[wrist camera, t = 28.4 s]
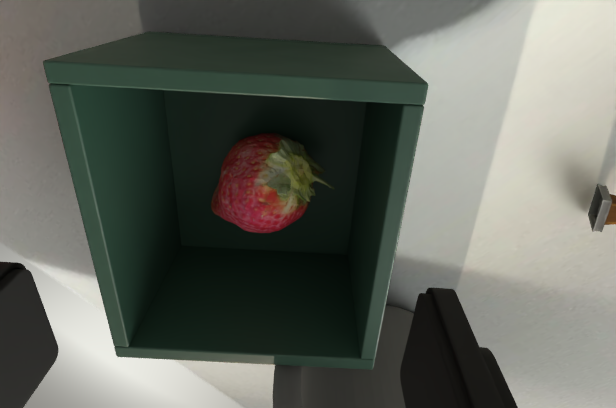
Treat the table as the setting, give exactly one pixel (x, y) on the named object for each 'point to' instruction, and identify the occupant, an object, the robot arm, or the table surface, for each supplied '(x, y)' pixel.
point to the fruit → (266, 183)
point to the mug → (350, 375)
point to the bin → (205, 177)
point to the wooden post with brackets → (602, 209)
